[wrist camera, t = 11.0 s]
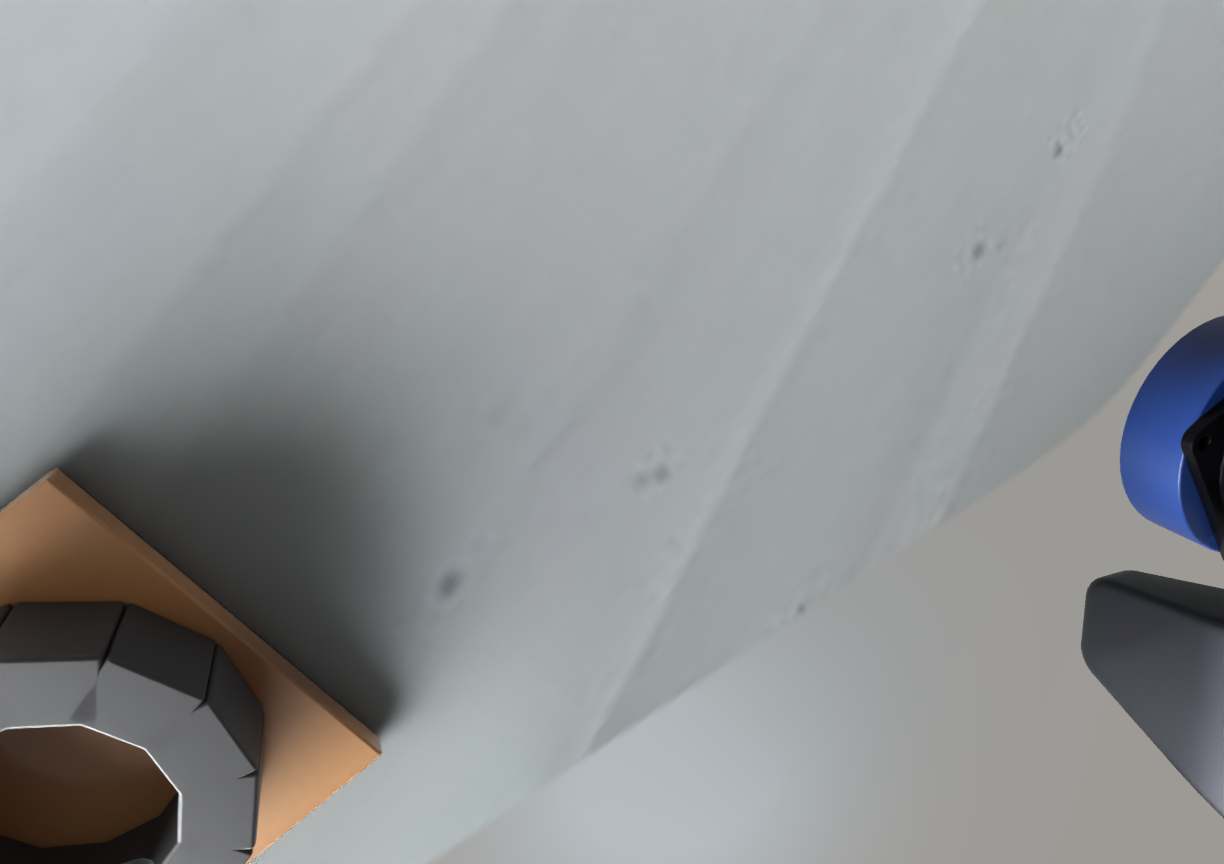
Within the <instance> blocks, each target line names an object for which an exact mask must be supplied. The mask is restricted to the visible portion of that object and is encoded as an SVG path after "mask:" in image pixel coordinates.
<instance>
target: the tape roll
mask: <svg viewBox="0 0 1224 864" xmlns="http://www.w3.org/2000/svg"><path fill="white" fill-rule="evenodd" d="M62 726H83V727H86V728H89V729H91V730H94V731H97V732H99V733H102V734H104V735H107V736H110V737H112V738H115V739H118V740H120V741H123V742H126V743H128V744H131V745H133V746H136V747H139V748H141V749H144V750H145V751H146V752H147V753H148V755H149V756H150V757H151V759H152V760H153V761H154V762H155V764H156V765H157V766H158V767H159V769H160V770H161V771H162V773H163V774H164V775H165V776H166V778H167V779H168V780H169V781H170V783H171V784H172V785H173V787H174V788H175V789H176V790H177V793H176V794H175V796H174V797H173V798H172V800H171V801H170V802H169V804H168V805H167V806H166V808H165V809H164V810H163V812H162V813H161V814H160V816H158V817H156V818H154V819H152V820H150V821H148V822H146V823H144V824H142V825H140V826H138V827H136V828H134V829H132V830H130V831H128V832H126V833H124V834H122V835H120V836H118V837H116V838H114V839H112V840H110V841H108V842H104V843H93V844H82V845H71V846H60V847H48V848H39V847H36V846H32V845H29V844H26V843H23V842H20V841H16V840H13V839H10V838H7V837H4V836H0V864H122V863H126V862H129V861H133V860H136V859H140V858H147V859H150V860H152V861H153V862H154V863H155V864H245V863H246V862H247V861H248V859H249V858H250V857H251V855H252V853H253V848H254V846H255V844H256V838H257V826H258V814H259V802H260V790H261V777H262V760H263V743H264V726H265V716H264V714H263V706H262V705H261V703H260V702H259V700H258V699H257V697H256V696H255V694H254V693H253V691H252V690H251V689H250V687H249V686H248V684H247V683H246V681H245V680H244V678H243V677H242V675H241V674H240V673H239V671H238V670H237V668H236V667H235V665H234V664H233V662H232V661H231V659H230V658H229V656H228V655H227V654H226V652H225V651H224V649H223V648H222V646H220V645H217V646H215V641H214V640H212V639H210V638H208V637H206V636H203V635H201V634H199V633H197V632H195V631H192V630H190V629H188V628H186V627H184V626H181V625H179V624H177V623H175V622H173V621H170V620H168V619H166V618H164V617H161V616H159V615H157V614H155V613H153V612H150V611H148V610H146V609H144V608H142V607H139V606H137V605H135V604H129V605H127V606H126V608H125V605H124V603H123V602H20V603H17V604H15V606H14V607H13V606H12V605H11V604H6V605H4V606H2V607H0V732H1V731H3V730H5V729H21V728H42V727H62Z"/></svg>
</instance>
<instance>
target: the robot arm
mask: <svg viewBox="0 0 1224 864" xmlns="http://www.w3.org/2000/svg"><path fill="white" fill-rule="evenodd" d="M1181 449H1182V451H1183V454H1184V457H1185V459H1186V462H1187V465H1188V467H1189V470H1190V473H1191V475H1192V478H1193V481H1194V483H1195V486H1196V489H1197V492H1198V494H1199V497H1200V500H1201V502H1202V505H1203V508H1204V510H1205V513H1206V516H1207V518H1208V521H1209V524H1210V526H1211V529H1212V532H1213V534H1214V537H1215V540H1216V542H1217V545H1218V548H1219V550H1220V553H1221V556H1222V558H1223V560H1224V398H1223V399H1222V400H1221V401H1220V402H1218V403H1217V404H1216V405H1215V406H1214V407H1212V408H1211V409H1210V410H1209V411H1208V412H1207V413H1205V414H1204V415H1203V416H1202V417H1201V418H1199V419H1198V420H1197V421H1196V422H1195V423H1193V424H1192V425H1191V426H1190V427H1189V428H1188V429H1187V430H1186V431H1185V432H1184V434H1183V436H1182V439H1181ZM1081 650H1082V655H1083V658H1084V660H1085V663H1086V664H1087V666H1088V668H1089V669H1090V671H1091V672H1092V673H1093V674H1094V676H1095V677H1096V678H1097V679H1098V680H1099V681H1100V683H1101V684H1102V685H1103V686H1104V687H1105V688H1106V689H1107V691H1108V692H1109V693H1110V694H1111V695H1112V696H1113V697H1114V698H1115V700H1116V701H1117V702H1118V703H1119V704H1120V705H1121V706H1122V707H1123V709H1124V710H1125V711H1126V712H1127V713H1128V714H1129V716H1130V717H1131V718H1132V719H1133V720H1134V721H1135V722H1136V723H1137V725H1138V726H1139V727H1140V728H1141V729H1142V730H1143V731H1144V733H1145V734H1146V735H1147V736H1148V737H1149V738H1150V739H1151V741H1152V742H1153V743H1154V744H1155V745H1156V746H1157V747H1158V749H1159V750H1160V751H1161V752H1162V753H1163V754H1164V755H1165V756H1166V758H1167V759H1168V760H1169V761H1170V762H1171V763H1172V764H1173V766H1174V767H1175V768H1176V769H1177V770H1178V771H1179V772H1180V773H1181V774H1182V776H1183V777H1184V778H1185V779H1186V780H1187V781H1188V782H1189V783H1190V784H1191V785H1192V786H1193V788H1194V789H1195V790H1196V791H1197V792H1198V793H1199V794H1200V795H1201V796H1202V797H1203V798H1204V799H1205V800H1206V801H1207V802H1208V803H1209V804H1210V805H1211V806H1212V807H1213V808H1214V809H1215V810H1216V811H1217V812H1218V813H1219V814H1220V815H1221V816H1222V817H1223V818H1224V589H1221V588H1216V587H1211V586H1206V585H1202V584H1197V583H1192V582H1187V581H1182V580H1177V579H1173V578H1167V577H1163V576H1158V575H1153V574H1148V573H1143V572H1138V571H1131V570H1130V571H1122V572H1118V573H1114V574H1111V575H1108V576H1104V577H1101V578H1098V579H1096V580H1094V581H1093V582H1092V583H1091V584H1090V586H1089V588H1088V590H1087V593H1086V601H1085V612H1084V621H1083V630H1082V640H1081ZM122 864H155V863H154V862H153V861H152V860H150V859H147V858H140V859H136V860H133V861H129V862H126V863H122Z"/></svg>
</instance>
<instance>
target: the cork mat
mask: <svg viewBox="0 0 1224 864" xmlns="http://www.w3.org/2000/svg"><path fill="white" fill-rule="evenodd" d="M20 602H123V603H124V605H125V608H126V606H127V605H129V604H135V605H137V606H139V607H142V608H144V609H146V610H148V611H150V612H153V613H155V614H157V615H159V616H161V617H164V618H166V619H168V620H170V621H173V622H175V623H177V624H179V625H181V626H184V627H186V628H188V629H190V630H192V631H195V632H197V633H199V634H201V635H203V636H206V637H208V638H210V639H212V640H214V641H215V646H217V645H220V646H222V648H223V649H224V651H225V652H226V654H227V655H228V656H229V658H230V659H231V661H232V662H233V664H234V665H235V667H236V668H237V670H238V671H239V673H240V674H241V675H242V677H243V678H244V680H245V681H246V683H247V684H248V686H249V687H250V689H251V690H252V691H253V693H254V694H255V696H256V697H257V699H258V700H259V702H260V703H261V705H262V706H263V714H264V716H265V726H264V743H263V760H262V777H261V790H260V802H259V814H258V826H257V838H256V844H255V846H254V848H253V853H252V855H251V857H250V858H249V859H248V861H247V862H246V863H245V864H248V863H250V862H251V861H252V860H253V859H255V858H256V857H257V856H258V855H259V854H261V853H262V852H263V851H264V850H266V849H267V848H268V847H269V846H270V845H272V844H273V843H274V842H275V841H277V840H278V839H279V838H280V837H281V836H283V835H284V834H285V833H286V832H288V831H289V830H290V829H291V828H292V827H294V826H295V825H296V824H297V823H299V822H300V821H301V820H302V819H303V818H305V817H306V816H307V815H308V814H310V813H311V812H312V811H313V810H314V809H316V808H317V807H318V806H319V805H321V804H322V803H323V802H324V801H325V800H327V799H328V798H329V797H330V796H332V795H333V794H334V793H335V792H336V791H338V790H339V789H340V788H341V787H343V786H344V785H345V784H346V783H347V782H349V781H350V780H351V779H352V778H354V777H355V776H356V775H357V774H358V773H360V772H361V771H362V770H363V769H365V768H366V767H367V766H368V765H369V764H371V763H372V762H373V761H374V760H376V759H377V758H378V757H379V756H380V755H381V753H382V750H381V741H380V738H379V737H378V736H377V735H375V734H374V733H373V732H372V731H371V730H369V729H368V728H367V727H366V726H365V725H363V724H362V723H361V722H360V721H359V720H357V719H356V718H355V717H354V716H353V715H351V714H350V713H349V712H348V711H347V710H346V709H344V708H343V707H342V706H341V705H340V704H338V703H337V702H336V701H335V700H334V699H332V698H331V697H330V696H329V695H328V694H326V693H325V692H324V691H323V690H322V689H320V688H319V687H318V686H317V685H316V684H314V683H313V682H312V681H311V680H310V679H308V678H307V677H306V676H305V675H304V674H303V673H301V672H300V671H299V670H298V669H297V668H295V667H294V666H293V665H292V664H291V663H289V662H288V661H287V660H286V659H285V658H283V657H282V656H281V655H280V654H279V653H277V652H276V651H275V650H274V649H273V648H271V647H270V646H269V645H268V644H267V643H265V642H264V641H263V640H262V639H261V638H260V637H258V636H257V635H256V634H255V633H254V632H252V631H251V630H250V629H249V628H248V627H246V626H245V625H244V624H243V623H242V622H240V621H239V620H238V619H237V618H236V617H234V616H233V615H232V614H231V613H230V612H228V611H227V610H226V609H225V608H224V607H222V606H221V605H220V604H219V603H218V602H217V601H215V600H214V599H213V598H212V597H211V596H209V595H208V594H207V593H206V592H205V591H203V590H202V589H201V588H200V587H199V586H197V585H196V584H195V583H194V582H193V581H191V580H190V579H189V578H188V577H187V576H185V575H184V574H183V573H182V572H181V571H179V570H178V569H177V568H176V567H175V566H174V565H172V564H171V563H170V562H169V561H168V560H166V559H165V558H164V557H163V556H162V555H160V554H159V553H158V552H157V551H156V550H154V549H153V548H152V547H151V546H150V545H148V544H147V543H146V542H145V541H144V540H142V539H141V538H140V537H139V536H138V535H136V534H135V533H134V532H133V531H132V530H131V529H129V528H128V527H127V526H126V525H125V524H123V523H122V522H121V521H120V520H119V519H117V518H116V517H115V516H114V515H113V514H111V513H110V512H109V511H108V510H107V509H105V508H104V507H103V506H102V505H101V504H99V503H98V502H97V501H96V500H95V499H93V498H92V497H91V496H90V495H89V494H88V493H86V492H85V491H84V490H83V489H82V488H80V487H79V486H78V485H77V484H76V483H74V482H73V481H72V480H71V479H70V478H68V477H67V476H66V475H65V474H64V473H62V472H61V471H60V470H59V469H57V468H55V469H52V470H51V471H50V472H48V473H47V474H46V475H44V476H43V477H42V478H41V479H39V480H38V481H37V482H36V483H34V484H33V485H32V486H30V487H29V488H28V489H27V490H25V491H24V492H23V493H21V494H20V495H19V496H18V497H16V498H15V499H14V500H12V501H11V502H10V503H9V504H7V505H6V506H5V507H4V508H2V509H1V510H0V607H2V606H4V605H6V604H11V605H12V606H13V607H14V606H15V604H17V603H20ZM176 793H177V790H176V789H175V788H174V787H173V785H172V784H171V783H170V781H169V780H168V779H167V778H166V776H165V775H164V774H163V773H162V771H161V770H160V769H159V767H158V766H157V765H156V764H155V762H154V761H153V760H152V759H151V757H150V756H149V755H148V753H147V752H146V751H145V750H144V749H141V748H139V747H136V746H133V745H131V744H128V743H126V742H123V741H120V740H118V739H115V738H112V737H110V736H107V735H104V734H102V733H99V732H97V731H94V730H91V729H89V728H86V727H83V726H62V727H42V728H21V729H5V730H3V731H1V732H0V836H4V837H7V838H10V839H13V840H16V841H20V842H23V843H26V844H29V845H32V846H36V847H39V848H48V847H60V846H71V845H82V844H93V843H104V842H108V841H110V840H112V839H114V838H116V837H118V836H120V835H122V834H124V833H126V832H128V831H130V830H132V829H134V828H136V827H138V826H140V825H142V824H144V823H146V822H148V821H150V820H152V819H154V818H156V817H158V816H160V814H161V813H162V812H163V810H164V809H165V808H166V806H167V805H168V804H169V802H170V801H171V800H172V798H173V797H174V796H175V794H176Z"/></svg>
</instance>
